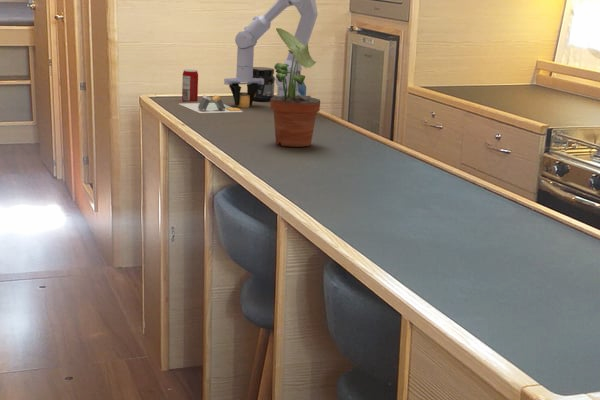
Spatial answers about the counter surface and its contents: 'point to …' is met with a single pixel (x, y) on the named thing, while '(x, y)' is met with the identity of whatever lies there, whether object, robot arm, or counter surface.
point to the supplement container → (268, 87)
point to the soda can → (190, 86)
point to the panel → (210, 108)
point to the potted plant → (294, 99)
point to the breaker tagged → (218, 103)
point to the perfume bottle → (302, 89)
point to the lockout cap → (244, 100)
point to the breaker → (204, 103)
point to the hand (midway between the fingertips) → (243, 104)
